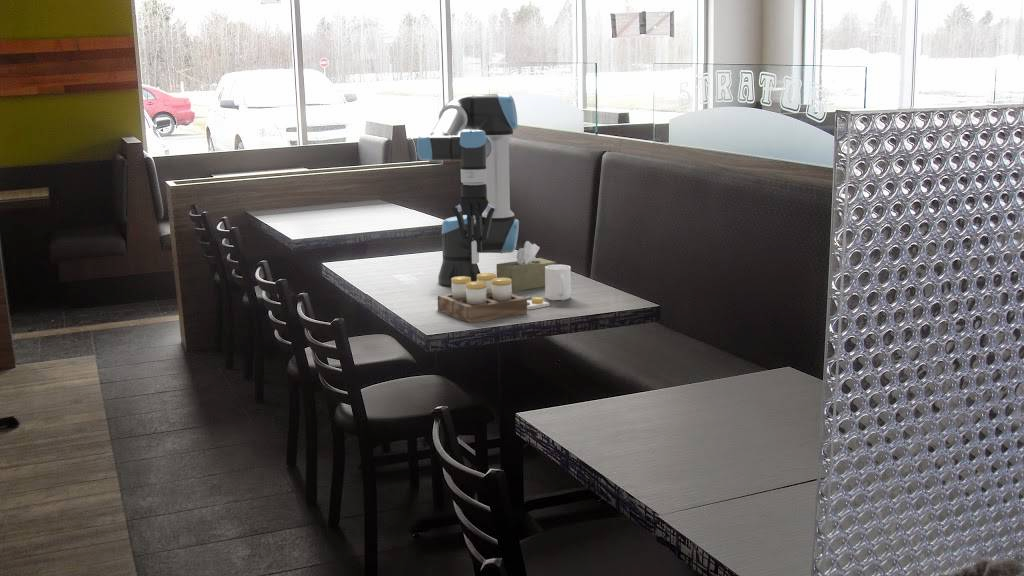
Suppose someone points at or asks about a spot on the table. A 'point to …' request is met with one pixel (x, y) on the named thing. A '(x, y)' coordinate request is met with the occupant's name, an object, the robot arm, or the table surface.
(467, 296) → the button
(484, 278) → the button
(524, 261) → the tissue box
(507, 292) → the button
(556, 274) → the mug
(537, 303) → the card
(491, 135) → the robot arm
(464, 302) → the board
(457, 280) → the button
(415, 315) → the table surface
